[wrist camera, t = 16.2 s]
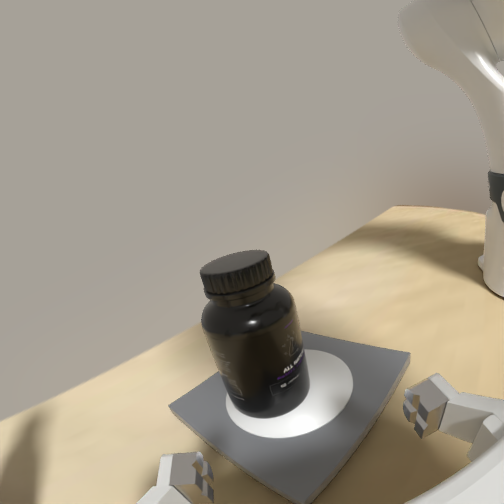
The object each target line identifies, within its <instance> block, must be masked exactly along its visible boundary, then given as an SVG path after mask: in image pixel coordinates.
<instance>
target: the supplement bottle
mask: <svg viewBox="0 0 504 504" xmlns="http://www.w3.org/2000/svg"><path fill="white" fill-rule="evenodd" d="M200 275H201V279H202V282H203V285H204V292H205V295H206V297H207V298H208V299H210V302H209V303H208V304H207V305H206V307H205V308H204V310H203V313H202V319H201V323H202V327H203V330H204V333H205V336H206V339H207V342H208V344H209V347H210V350H211V352H212V355H213V358H214V360H215V363H216V365H217V368H218V370H219V373H220V376H221V378H222V381H223V383H224V385H225V388H226V390H227V393H228V395H229V397H230V400H231V402H232V404H233V405H234V407H235V408H236V409H237V410H238V411H239V412H241V413H242V414H244V415H246V416H249V417H252V418H258V419H269V418H275V417H279V416H282V415H285V414H287V413H289V412H291V411H293V410H294V409H295V408H297V407H298V406H299V405H300V404H301V403H302V402H303V401H304V400H305V398H306V397H307V395H308V392H309V389H310V378H309V372H308V366H307V361H306V356H305V351H304V345H303V340H302V335H301V330H300V325H299V320H298V315H297V310H296V306H295V302H294V299H293V297H292V295H291V294H290V292H289V291H288V290H287V289H285V288H284V287H282V286H280V285H278V284H275V283H274V281H275V274H274V271H273V269H272V265H271V261H270V257H269V254H268V253H267V252H266V251H261V250H250V251H243V252H238V253H233V254H230V255H226V256H223V257H221V258H218V259H216V260H213V261H211V262H210V263H208V264H206V265H205V266H204V267H202V269H201V270H200Z"/></svg>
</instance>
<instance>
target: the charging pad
mask: <svg viewBox="0 0 504 504" xmlns="http://www.w3.org/2000/svg"><path fill="white" fill-rule="evenodd" d="M301 335H302V340H303V345H304V351H305V356H306V361H307V366H308V372H309V378H310V389H309V392H308V395H307V397H306V398H305V400H304V401H303V402H302V403H301V404H300V405H299V406H298V407H297V408H295V409H294V410H293V411H291V412H289V413H287V414H285V415H282V416H279V417H275V418H269V419H258V418H252V417H249V416H246V415H244V414H242V413H241V412H239V411H238V410H237V409H236V408H235V407H234V405H233V404H232V402H231V400H230V397H229V395H228V393H227V390H226V388H225V385H224V383H223V381H222V378H221V376H220V373H219V371H218V372H217V373H215V374H214V375H213V376H211V377H210V378H208V379H207V380H205V381H204V382H203V383H201V384H200V385H198V386H197V387H195V388H194V389H192V390H191V391H189V392H188V393H186V394H185V395H183V396H182V397H180V398H179V399H177V400H176V401H174V402H173V403H171V404H170V405H168V406H169V408H170V410H171V411H172V413H173V414H174V415H175V416H176V417H177V418H178V419H179V420H180V421H181V422H183V423H184V424H185V425H186V426H187V427H188V428H189V429H190V430H192V431H193V432H194V433H195V434H196V435H197V436H199V437H200V438H201V439H202V440H203V441H205V442H206V443H207V444H208V445H210V446H211V447H212V448H213V449H215V450H216V451H217V452H218V453H220V454H221V455H222V456H224V457H225V458H226V459H227V460H229V461H230V462H231V463H233V464H234V465H236V466H237V467H238V468H240V469H241V470H243V471H244V472H245V473H247V474H248V475H250V476H251V477H253V478H254V479H256V480H257V481H259V482H260V483H262V484H263V485H265V486H266V487H268V488H270V489H271V490H273V491H274V492H276V493H278V494H279V495H281V496H283V497H284V498H286V499H288V500H289V501H291V502H293V503H295V504H311V503H312V502H313V500H314V499H315V498H316V497H317V496H318V495H319V494H320V493H321V492H322V491H323V490H324V488H325V487H326V486H327V485H328V484H329V483H330V482H331V480H332V479H333V478H334V477H335V476H336V475H337V473H338V472H339V471H340V470H341V468H342V467H343V466H344V465H345V463H346V462H347V461H348V460H349V458H350V457H351V456H352V454H353V453H354V452H355V450H356V449H357V448H358V446H359V445H360V444H361V442H362V441H363V439H364V438H365V437H366V435H367V434H368V432H369V431H370V429H371V428H372V426H373V425H374V423H375V422H376V420H377V419H378V417H379V416H380V414H381V412H382V411H383V409H384V408H385V406H386V404H387V403H388V401H389V399H390V398H391V396H392V394H393V393H394V391H395V389H396V387H397V386H398V384H399V382H400V380H401V378H402V377H403V375H404V373H405V371H406V369H407V367H408V365H409V363H410V353H409V352H403V351H397V350H391V349H386V348H380V347H375V346H370V345H365V344H359V343H354V342H350V341H345V340H340V339H335V338H331V337H326V336H322V335H317V334H313V333H308V332H304V331H301Z"/></svg>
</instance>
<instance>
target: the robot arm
mask: <svg viewBox="0 0 504 504" xmlns="http://www.w3.org/2000/svg"><path fill="white" fill-rule="evenodd" d="M398 27H399V31H400V34H401V37H402V39H403V41H404V43H405V44H406V46H407V48H408V49H409V50H410V51H411V53H412V54H413V55H414V56H416V58H418V59H419V60H420V61H421V62H423V63H424V64H426V65H428V66H430V67H432V68H434V69H436V70H438V71H440V72H442V73H443V74H445V75H447V76H448V77H449V78H450V79H452V80H453V81H454V82H455V83H456V84H457V85H458V86H459V87H460V88H461V89H462V90H463V92H464V93H465V94H466V95H467V97H468V98H469V100H470V101H471V103H472V105H473V107H474V109H475V111H476V114H477V116H478V119H479V122H480V125H481V128H482V132H483V136H484V139H485V144H486V147H487V153H488V158H489V165H490V171H489V172H488V180H489V181H488V187H489V191H490V199H491V200H492V201H493V202H492V205H491V207H490V208H489V209H488V211H487V212H486V222H485V242H484V255H482V256H480V257H479V258H478V266H479V267H480V268H481V269H482V270H483V278H484V281H485V283H486V285H487V286H488V287H489V288H490V289H491V290H492V291H494V292H495V293H497V294H498V295H500V296H502V297H504V76H503V75H501V74H500V72H499V71H498V70H497V68H496V64H497V63H498V62H500V61H504V0H414V1H413V2H411V3H409V4H408V5H406V6H405V7H404V8H402V9H401V10H400V11H399V15H398ZM498 56H499V57H498ZM499 59H500V60H499ZM404 396H405V397H406V400H405V401H404V403H403V410H404V414H405V416H406V418H407V420H408V421H409V422H411V423H414V424H415V426H414V430H415V431H416V432H417V434H418V435H419V436H420V438H421V439H423V438H425V437H427V436H428V435H430V434H432V433H434V432H435V431H437V430H439V431H441V432H443V433H446V434H448V435H451V436H454V437H456V438H459V439H461V440H464V441H467V442H470V443H472V446H471V448H470V449H469V451H468V454H467V456H468V458H469V459H470V460H471V463H469V464H468V465H466V466H465V467H464V468H462V469H461V470H459V471H458V472H456V473H455V474H454V475H452V476H451V477H449V478H447V479H446V480H444V481H443V482H441V483H440V484H438V485H436V486H435V487H433V488H431V489H429V490H428V491H426V492H424V493H422V494H421V495H419V496H417V497H415V498H413V499H411V500H409V501H407V502H406V503H404V504H504V400H502V399H496V398H490V397H485V396H479V395H474V394H469V393H464V392H462V393H460V394H459V393H458V392H457V391H456V390H455V389H454V388H453V387H452V386H451V385H450V384H449V383H448V382H447V381H446V380H445V379H444V378H443V377H442V376H441V375H440V374H439V373H435V374H433V375H432V376H430V377H428V378H426V379H424V380H422V381H420V382H418V383H417V384H415V385H413V386H411V387H409V388H407V389H406V390H405V394H404ZM212 482H213V473H212V469H211V467H210V465H209V463H208V462H207V461H204V460H203V455H202V454H201V452H191V453H177V454H163V455H162V456H161V459H160V465H159V471H158V477H157V484H156V486H152V488H151V489H150V490H149V491H148V492H147V493H146V494H145V495H144V496H143V497H142V498H141V499H140V500H139V501H138V502H137V503H136V504H209V503H214V498H213V489H212V488H211V487H210V485H211V484H212Z"/></svg>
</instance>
